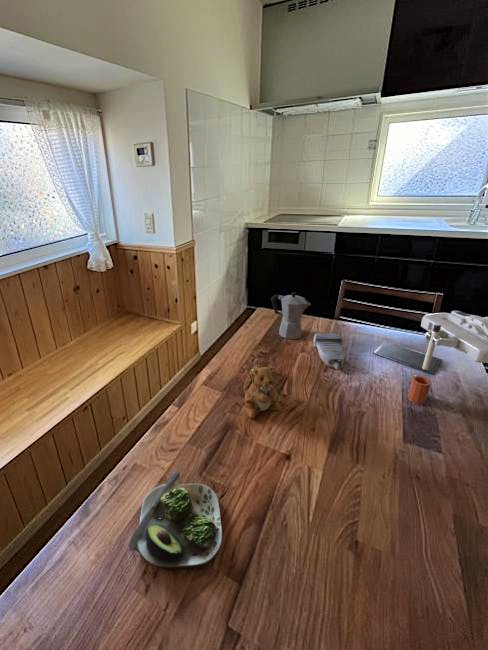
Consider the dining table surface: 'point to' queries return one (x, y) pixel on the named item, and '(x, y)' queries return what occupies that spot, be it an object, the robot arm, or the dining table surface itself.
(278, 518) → the dining table surface
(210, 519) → the salad plate
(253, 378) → the stuffed squirrel
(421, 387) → the pen cup
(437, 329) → the stylus
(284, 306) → the coffeepot
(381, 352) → the tablet
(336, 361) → the handheld device
